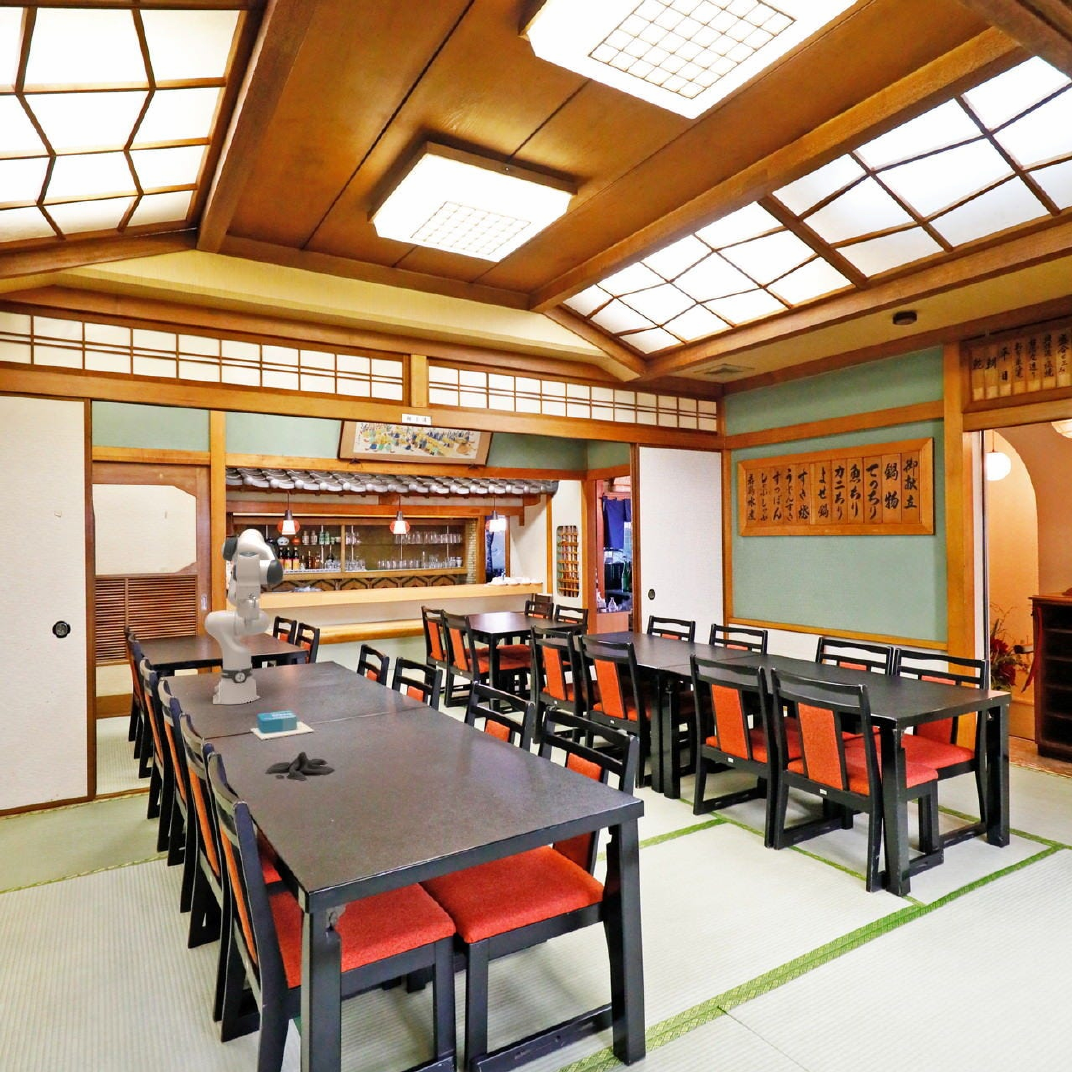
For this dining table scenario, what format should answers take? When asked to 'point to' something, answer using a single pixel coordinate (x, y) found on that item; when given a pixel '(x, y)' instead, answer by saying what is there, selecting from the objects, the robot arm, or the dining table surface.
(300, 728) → the pale mat
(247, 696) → the robot arm
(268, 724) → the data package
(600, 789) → the dining table surface
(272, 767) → the cloth
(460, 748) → the dining table surface
